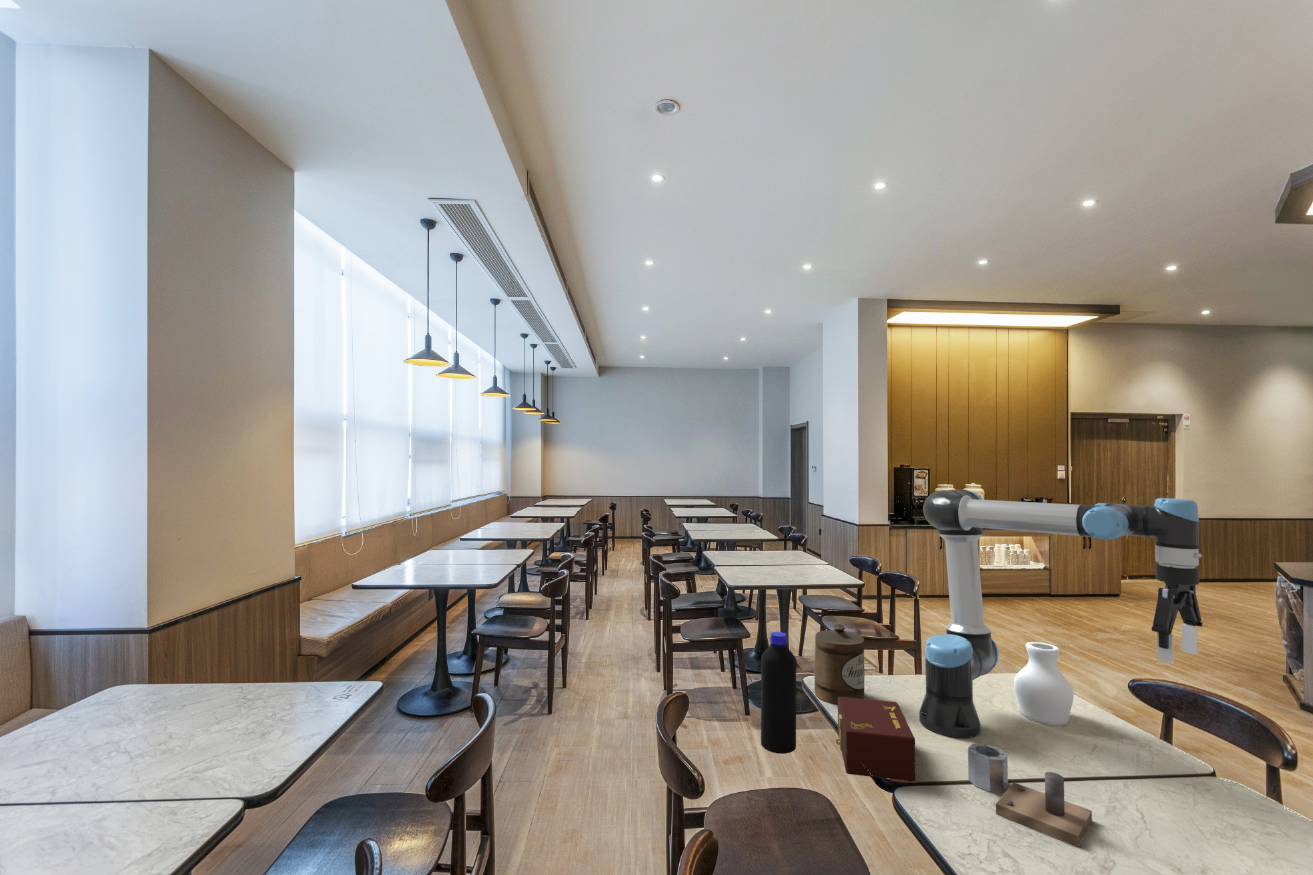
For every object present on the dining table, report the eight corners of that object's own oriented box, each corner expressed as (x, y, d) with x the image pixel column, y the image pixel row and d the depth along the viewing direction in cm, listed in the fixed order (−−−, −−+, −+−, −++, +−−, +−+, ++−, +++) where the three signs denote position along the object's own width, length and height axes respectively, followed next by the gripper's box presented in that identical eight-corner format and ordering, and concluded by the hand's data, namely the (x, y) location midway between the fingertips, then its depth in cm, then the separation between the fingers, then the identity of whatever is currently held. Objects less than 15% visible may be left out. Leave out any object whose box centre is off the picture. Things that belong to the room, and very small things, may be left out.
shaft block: (995, 813, 119) (995, 768, 119) (1013, 791, 127) (1013, 749, 128) (1078, 846, 109) (1077, 798, 109) (1091, 820, 117) (1090, 775, 117)
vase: (1072, 713, 168) (1070, 643, 169) (1076, 732, 156) (1074, 657, 157) (1014, 701, 176) (1013, 635, 177) (1014, 718, 164) (1013, 647, 165)
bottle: (775, 757, 141) (776, 641, 142) (753, 741, 149) (754, 631, 150) (803, 749, 145) (803, 636, 146) (780, 734, 153) (780, 627, 154)
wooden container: (857, 709, 169) (857, 633, 170) (808, 698, 177) (808, 625, 178) (869, 693, 181) (869, 622, 182) (822, 682, 189) (822, 615, 190)
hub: (965, 782, 131) (964, 750, 131) (976, 770, 136) (975, 740, 136) (1000, 795, 125) (1000, 762, 126) (1010, 783, 130) (1010, 751, 131)
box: (832, 732, 154) (832, 694, 155) (897, 739, 151) (897, 700, 151) (840, 773, 134) (840, 729, 134) (916, 782, 131) (915, 737, 131)
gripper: (1175, 572, 124) (1176, 672, 124) (1218, 563, 137) (1219, 654, 136) (1133, 566, 131) (1133, 661, 130) (1178, 558, 143) (1179, 644, 143)
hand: (1177, 657), depth 133 cm, fingers open, 13 cm apart
